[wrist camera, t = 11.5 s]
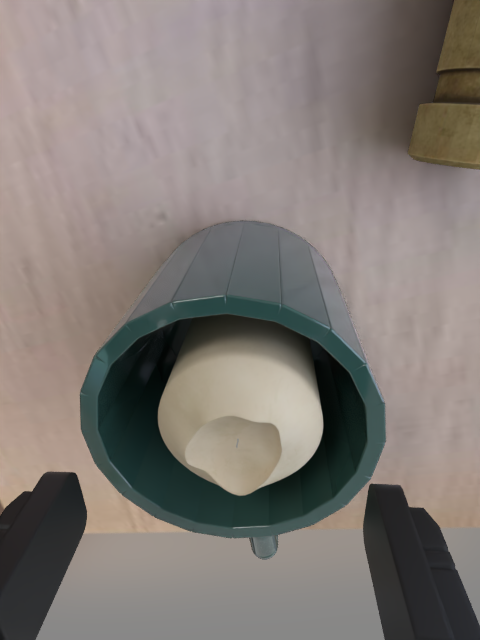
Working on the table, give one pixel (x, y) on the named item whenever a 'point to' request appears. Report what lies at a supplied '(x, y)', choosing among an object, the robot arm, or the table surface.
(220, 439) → the candle
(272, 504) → the teal faceted cup
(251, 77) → the table surface
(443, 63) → the gavel
